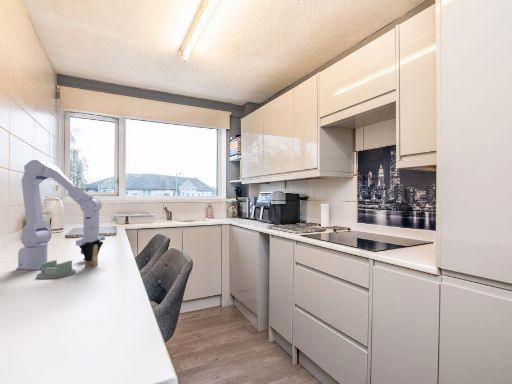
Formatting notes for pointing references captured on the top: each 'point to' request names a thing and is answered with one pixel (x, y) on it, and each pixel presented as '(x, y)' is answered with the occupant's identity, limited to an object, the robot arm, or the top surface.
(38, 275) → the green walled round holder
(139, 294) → the top surface
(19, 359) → the top surface
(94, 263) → the tan wooden block
